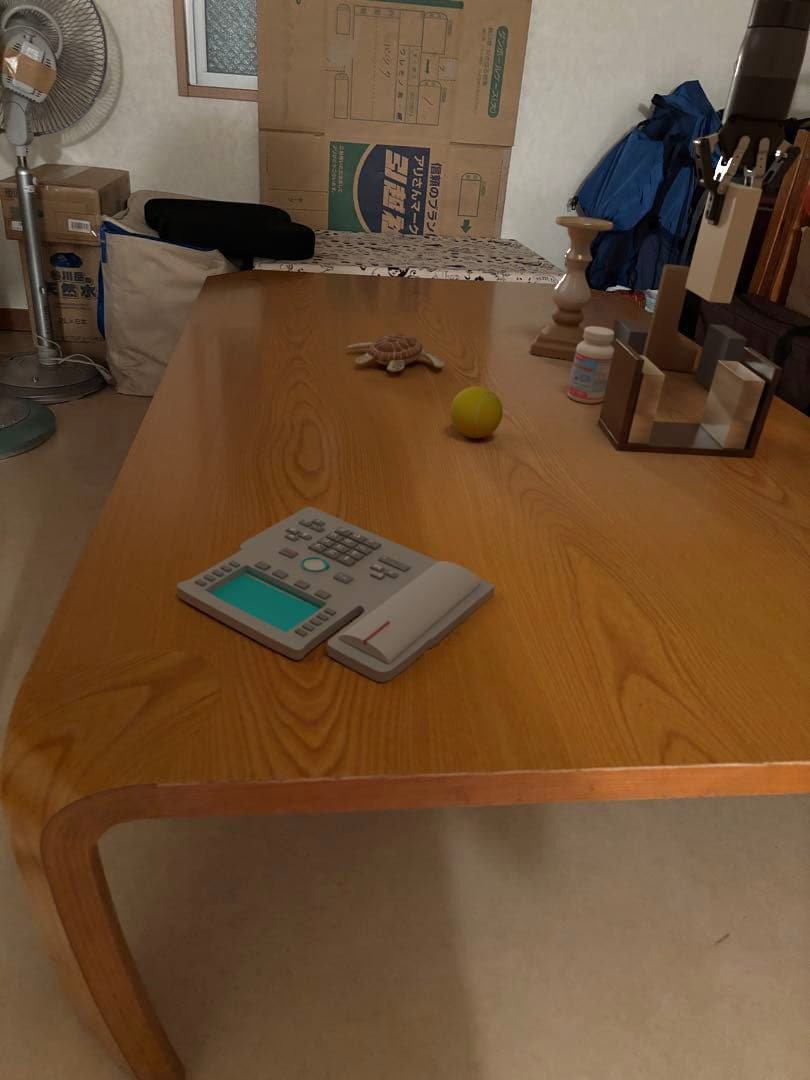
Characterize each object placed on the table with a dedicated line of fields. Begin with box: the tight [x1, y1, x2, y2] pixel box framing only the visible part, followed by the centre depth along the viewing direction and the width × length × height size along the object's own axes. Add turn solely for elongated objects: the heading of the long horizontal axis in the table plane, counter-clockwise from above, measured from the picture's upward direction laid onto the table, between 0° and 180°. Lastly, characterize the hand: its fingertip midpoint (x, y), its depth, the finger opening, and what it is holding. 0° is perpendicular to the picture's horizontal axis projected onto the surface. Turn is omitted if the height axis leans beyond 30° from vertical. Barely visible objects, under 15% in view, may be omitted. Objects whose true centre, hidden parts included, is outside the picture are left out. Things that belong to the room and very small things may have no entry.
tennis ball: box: [449, 385, 503, 439], centre depth 107 cm, size 7×7×7 cm
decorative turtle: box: [346, 332, 445, 373], centre depth 135 cm, size 18×17×5 cm
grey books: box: [610, 317, 748, 392], centre depth 135 cm, size 20×9×10 cm, turn 93°
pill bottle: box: [567, 325, 614, 405], centre depth 124 cm, size 6×6×11 cm
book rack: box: [597, 339, 783, 459], centre depth 110 cm, size 20×10×13 cm, turn 93°
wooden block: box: [643, 263, 698, 374], centre depth 142 cm, size 9×4×18 cm, turn 77°
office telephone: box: [176, 505, 496, 683], centre depth 71 cm, size 23×3×20 cm
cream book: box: [685, 181, 762, 304], centre depth 104 cm, size 3×9×14 cm, turn 2°
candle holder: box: [529, 215, 614, 362], centre depth 145 cm, size 11×11×24 cm
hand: (725, 225), depth 103 cm, fingers closed on cream book, 3 cm apart
